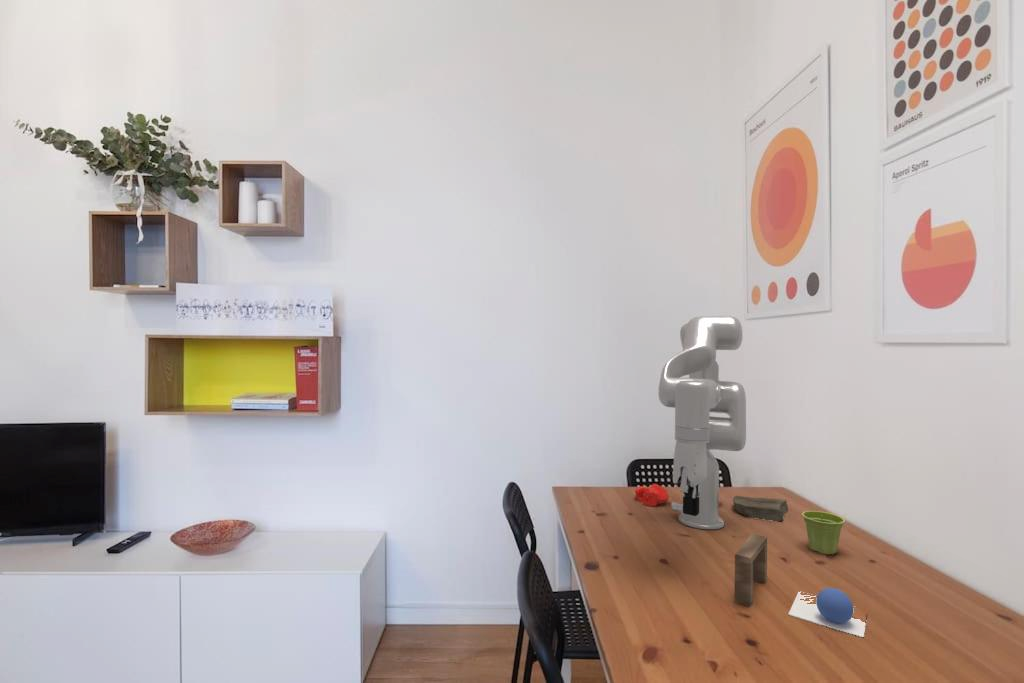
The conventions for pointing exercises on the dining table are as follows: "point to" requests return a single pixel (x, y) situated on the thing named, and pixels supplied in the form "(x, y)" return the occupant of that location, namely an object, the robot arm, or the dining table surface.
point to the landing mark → (813, 615)
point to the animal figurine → (652, 495)
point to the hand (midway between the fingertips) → (690, 513)
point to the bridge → (750, 568)
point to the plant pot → (823, 531)
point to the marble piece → (761, 507)
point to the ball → (834, 605)
